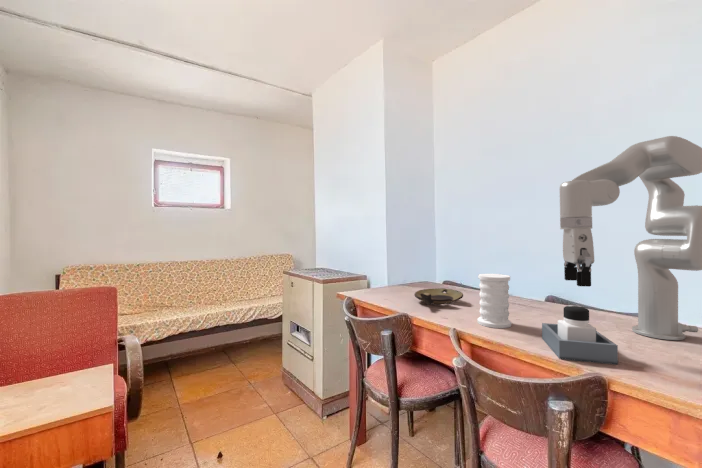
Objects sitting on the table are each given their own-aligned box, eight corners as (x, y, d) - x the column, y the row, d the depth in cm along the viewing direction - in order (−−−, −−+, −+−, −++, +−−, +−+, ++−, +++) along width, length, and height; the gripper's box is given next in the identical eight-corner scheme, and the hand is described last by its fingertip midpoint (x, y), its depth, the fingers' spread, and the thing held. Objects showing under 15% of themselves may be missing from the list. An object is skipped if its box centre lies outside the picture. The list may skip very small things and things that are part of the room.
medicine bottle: (596, 354, 87) (596, 310, 87) (567, 351, 88) (567, 309, 88) (584, 345, 94) (584, 304, 94) (557, 343, 95) (557, 303, 95)
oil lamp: (474, 304, 150) (474, 288, 150) (428, 313, 134) (428, 295, 134) (438, 296, 169) (438, 281, 169) (394, 303, 153) (394, 287, 153)
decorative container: (473, 319, 124) (473, 273, 124) (504, 319, 123) (504, 273, 123) (482, 327, 113) (482, 277, 113) (516, 328, 112) (516, 277, 111)
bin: (589, 342, 97) (589, 326, 97) (617, 364, 81) (617, 345, 81) (542, 338, 101) (542, 322, 101) (559, 358, 85) (559, 340, 85)
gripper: (605, 223, 82) (606, 289, 82) (579, 223, 98) (580, 278, 98) (571, 224, 84) (573, 288, 84) (551, 224, 100) (553, 278, 101)
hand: (577, 283), depth 91 cm, fingers open, 9 cm apart
